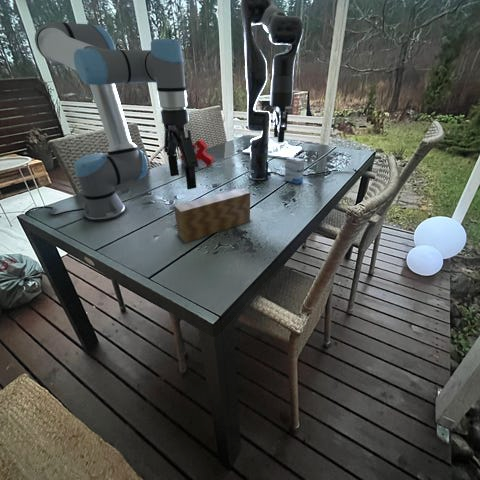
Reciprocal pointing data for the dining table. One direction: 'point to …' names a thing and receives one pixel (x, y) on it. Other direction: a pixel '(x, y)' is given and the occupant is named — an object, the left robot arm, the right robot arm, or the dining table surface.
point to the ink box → (294, 170)
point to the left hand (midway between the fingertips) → (182, 181)
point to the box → (212, 214)
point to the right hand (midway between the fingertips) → (278, 139)
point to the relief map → (280, 150)
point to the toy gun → (201, 152)
